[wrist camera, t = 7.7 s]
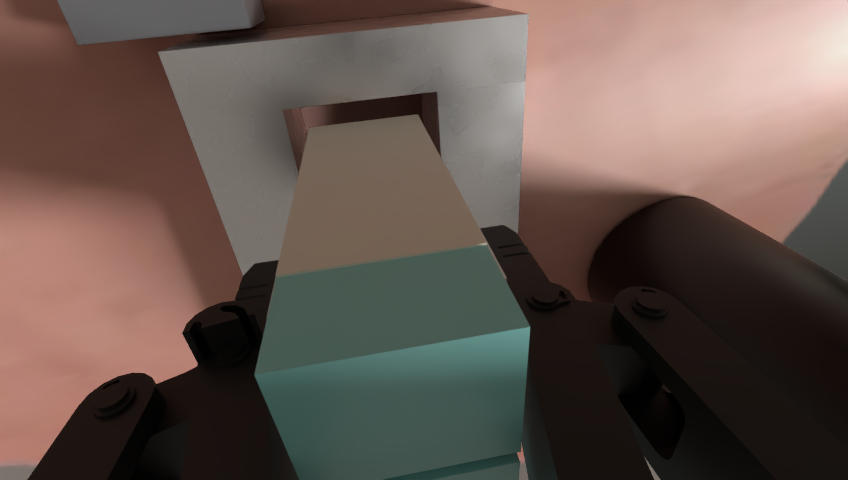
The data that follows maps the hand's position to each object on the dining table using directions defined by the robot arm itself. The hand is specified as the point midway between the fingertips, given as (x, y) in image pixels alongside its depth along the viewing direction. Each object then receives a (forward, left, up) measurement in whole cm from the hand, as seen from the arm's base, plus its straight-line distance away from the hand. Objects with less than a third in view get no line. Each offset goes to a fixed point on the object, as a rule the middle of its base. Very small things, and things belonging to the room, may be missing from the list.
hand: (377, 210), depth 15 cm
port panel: (+4, 0, -5) cm, 7 cm away
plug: (0, 0, -1) cm, 1 cm away
